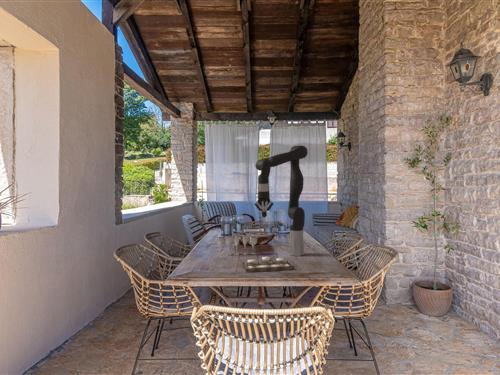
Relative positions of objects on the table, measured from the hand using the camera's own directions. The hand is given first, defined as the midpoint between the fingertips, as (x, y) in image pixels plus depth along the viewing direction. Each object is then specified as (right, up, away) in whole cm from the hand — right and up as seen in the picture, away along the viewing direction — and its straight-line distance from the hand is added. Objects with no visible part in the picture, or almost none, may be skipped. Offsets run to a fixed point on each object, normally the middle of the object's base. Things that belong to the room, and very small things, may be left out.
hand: (264, 217), depth 244 cm
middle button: (+1, -25, -15) cm, 30 cm away
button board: (+1, -29, -17) cm, 34 cm away
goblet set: (-18, -28, +19) cm, 38 cm away
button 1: (-8, -27, -17) cm, 33 cm away
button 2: (+9, -26, -14) cm, 31 cm away
